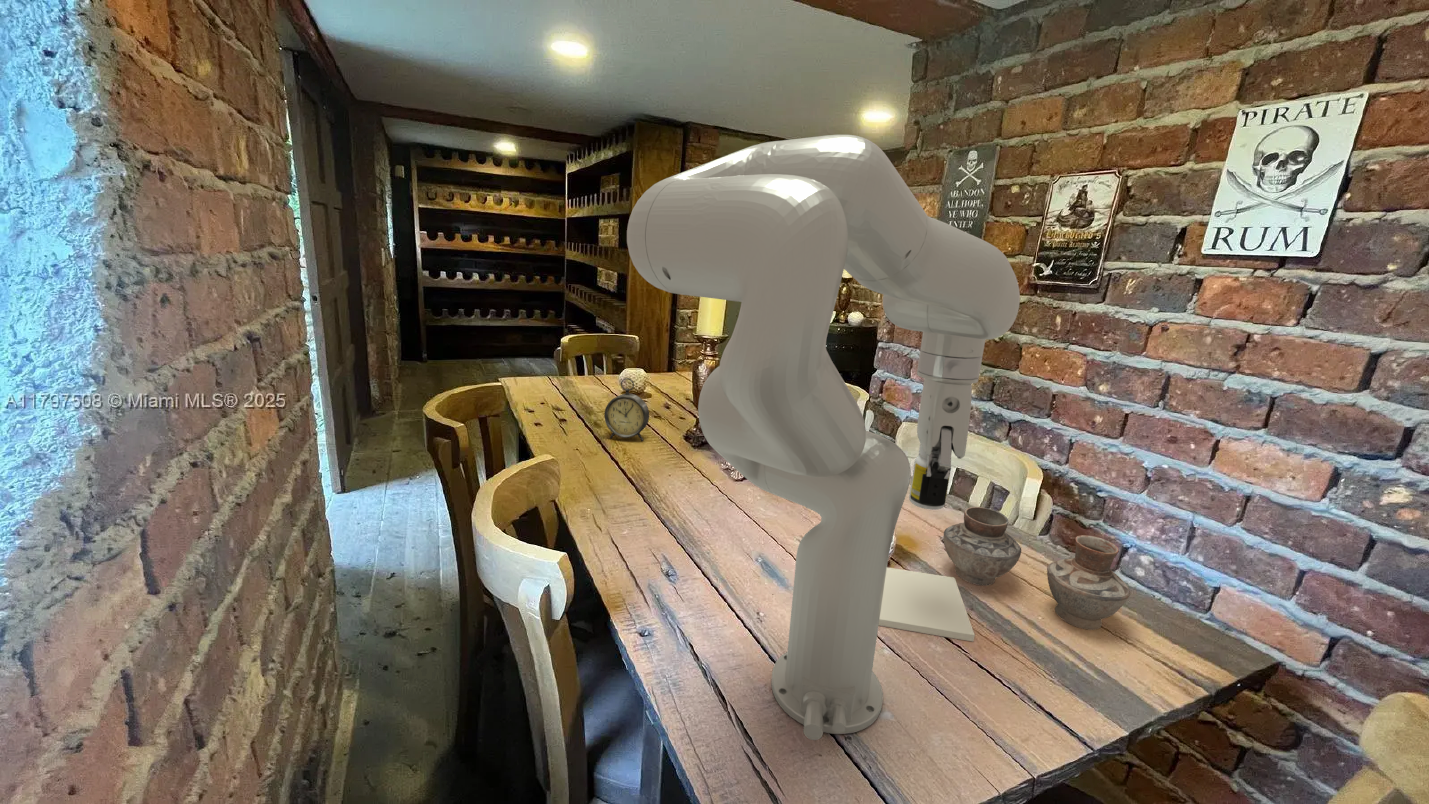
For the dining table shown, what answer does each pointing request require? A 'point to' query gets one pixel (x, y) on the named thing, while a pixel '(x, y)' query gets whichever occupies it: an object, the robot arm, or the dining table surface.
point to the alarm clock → (626, 415)
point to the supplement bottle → (917, 479)
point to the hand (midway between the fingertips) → (928, 493)
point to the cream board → (924, 605)
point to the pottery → (1073, 582)
